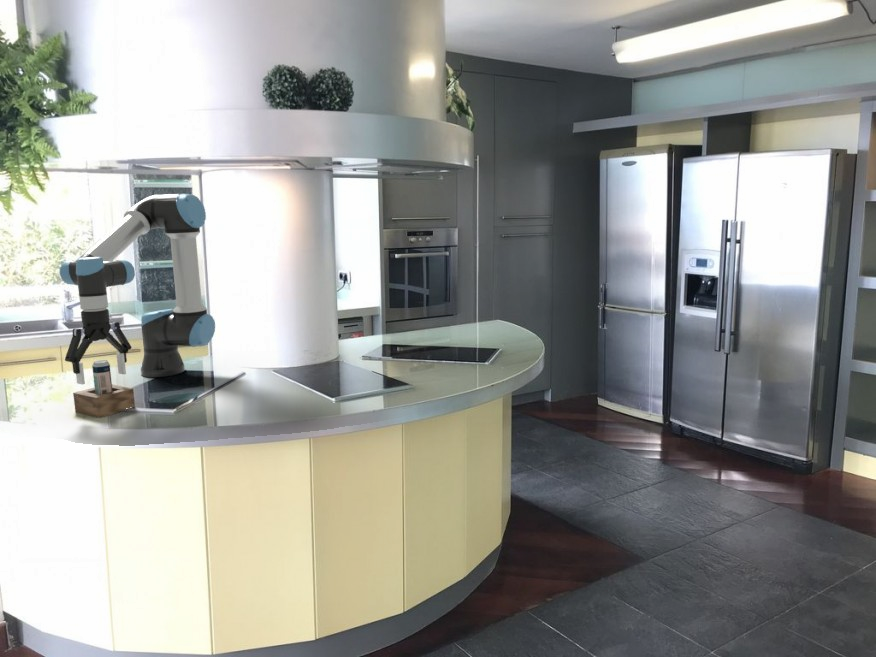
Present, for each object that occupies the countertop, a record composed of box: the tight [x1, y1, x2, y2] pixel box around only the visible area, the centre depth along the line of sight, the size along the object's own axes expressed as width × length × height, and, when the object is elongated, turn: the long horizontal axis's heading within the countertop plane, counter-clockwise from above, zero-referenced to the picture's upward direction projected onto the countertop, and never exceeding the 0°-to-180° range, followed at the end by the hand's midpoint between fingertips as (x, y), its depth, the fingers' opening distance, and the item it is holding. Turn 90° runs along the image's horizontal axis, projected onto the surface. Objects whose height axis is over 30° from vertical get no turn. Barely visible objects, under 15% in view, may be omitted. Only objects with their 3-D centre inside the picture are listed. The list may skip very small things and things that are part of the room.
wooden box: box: [72, 384, 136, 418], centre depth 219 cm, size 12×12×6 cm
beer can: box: [91, 359, 113, 395], centre depth 218 cm, size 5×5×12 cm
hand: (102, 378), depth 218 cm, fingers open, 13 cm apart
